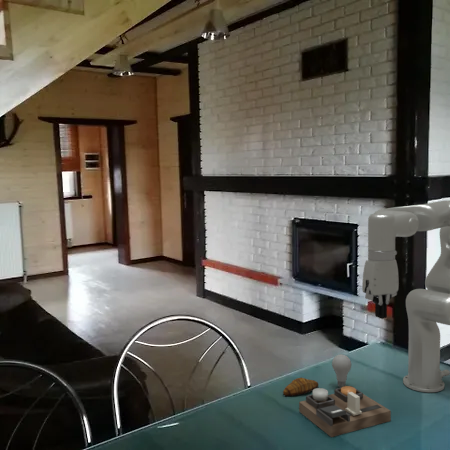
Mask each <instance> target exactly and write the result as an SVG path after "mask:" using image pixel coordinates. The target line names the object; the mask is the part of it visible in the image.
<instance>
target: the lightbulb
mask: <svg viewBox="0 0 450 450" xmlns="http://www.w3.org/2000/svg"><path fill="white" fill-rule="evenodd" d="M331 366H332V368H333V371H334V372H335V375H336V381H337V386H338V388H342V387H344V386H347V383H346V382H347V379H348V374H349V372H350V371H351V369H352V360H351V359H350V357H348V356H347V355H345V354H337V355H335V356H334V357H333V359H332V362H331Z"/></svg>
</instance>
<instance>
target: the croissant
mask: <svg viewBox="0 0 450 450" xmlns="http://www.w3.org/2000/svg"><path fill="white" fill-rule="evenodd" d="M316 388H319V381H316V380H313V379H309V378H308V379H307V378H306V377H305V378H304V377H299V378H298V377H297V378H295V379H293V380H292V381H291V382H290V383H289V384H288V385H286V387H284V389H283V391H282V394H283V397H295V396H296V397H297V396H299V395H306V394H308V393H310V392H313V390H314V389H316Z"/></svg>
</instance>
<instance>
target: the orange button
mask: <svg viewBox="0 0 450 450" xmlns="http://www.w3.org/2000/svg"><path fill="white" fill-rule="evenodd" d="M350 386H351V385H346V386H344V387H342V388H341V393H342V394H344V395H345V396H348V392H353V393H354V394H356V389H357V388H355V387H354V386H352V387H350Z"/></svg>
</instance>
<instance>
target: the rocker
mask: <svg viewBox="0 0 450 450" xmlns="http://www.w3.org/2000/svg"><path fill="white" fill-rule="evenodd" d="M320 410H321V411H322V412H323V413H325V414H326V415H327V416H329V417H331V418H335V417H338V416H342V415H346V411H345V410H343V409H340V408H338V407H335V406H333V405H332V406H328V407H324V408H320Z"/></svg>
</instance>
